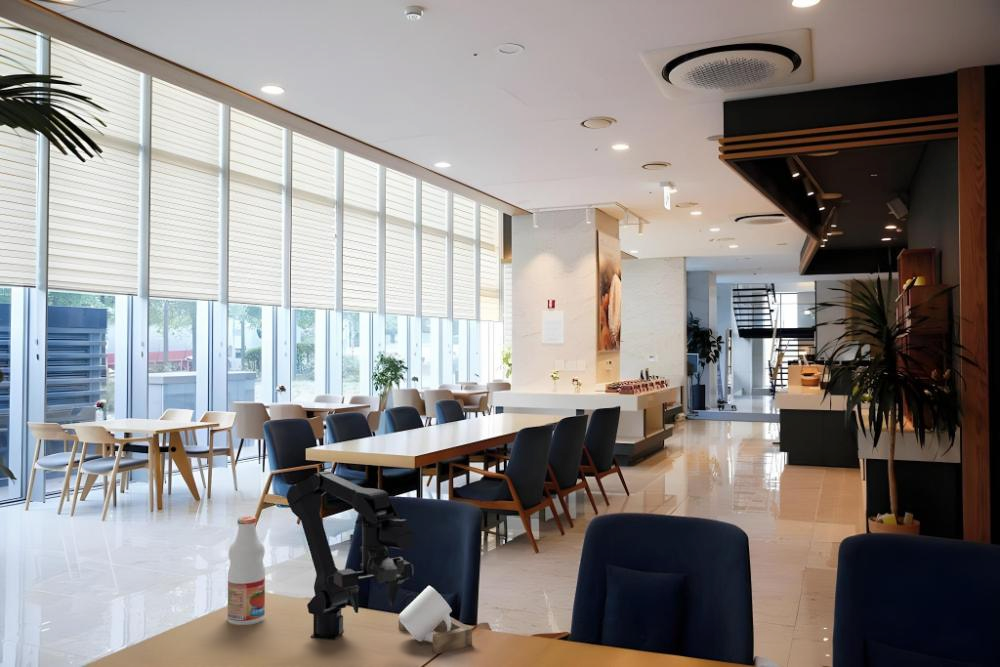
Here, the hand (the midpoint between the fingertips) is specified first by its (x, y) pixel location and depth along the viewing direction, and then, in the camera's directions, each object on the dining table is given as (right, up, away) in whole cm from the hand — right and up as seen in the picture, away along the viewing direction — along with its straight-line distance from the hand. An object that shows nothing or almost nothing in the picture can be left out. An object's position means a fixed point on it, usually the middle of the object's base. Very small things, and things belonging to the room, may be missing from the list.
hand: (374, 609), depth 188 cm
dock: (+14, -11, +10) cm, 20 cm away
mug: (+9, -8, +4) cm, 13 cm away
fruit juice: (-37, -11, +18) cm, 43 cm away
